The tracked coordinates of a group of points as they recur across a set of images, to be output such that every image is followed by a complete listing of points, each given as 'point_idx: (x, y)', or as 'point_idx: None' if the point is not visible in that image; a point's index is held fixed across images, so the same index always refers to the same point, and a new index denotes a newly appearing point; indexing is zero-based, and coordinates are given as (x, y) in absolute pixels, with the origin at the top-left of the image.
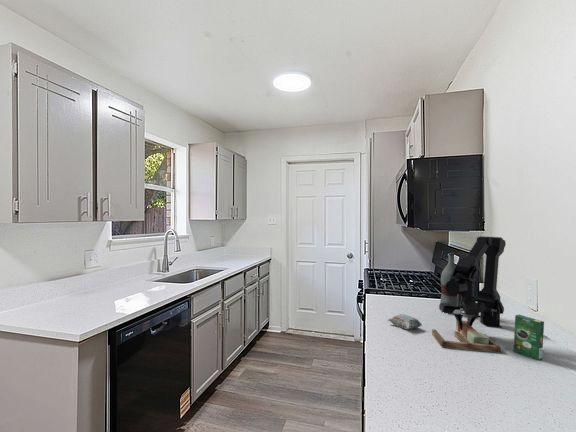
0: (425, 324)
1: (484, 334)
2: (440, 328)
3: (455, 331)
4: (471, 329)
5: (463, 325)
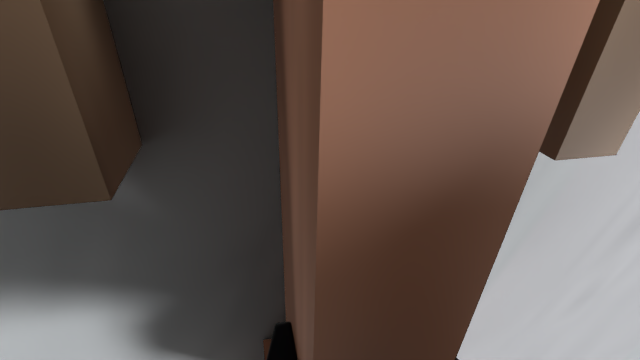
0: (583, 350)
1: (5, 167)
2: (520, 317)
3: (606, 151)
4: (475, 72)
5: (443, 357)
